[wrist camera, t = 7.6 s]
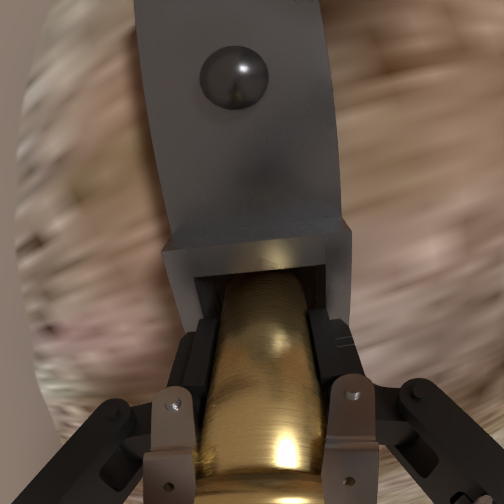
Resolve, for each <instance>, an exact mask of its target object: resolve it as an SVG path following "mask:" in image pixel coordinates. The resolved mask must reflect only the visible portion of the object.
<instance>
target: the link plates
mask: <svg viewBox="0 0 504 504" xmlns="http://www.w3.org/2000/svg"><path fill="white" fill-rule="evenodd" d="M134 12H135V23H136V33H137V42H138V51H139V59H140V67H141V75H142V82H143V89H144V96H145V102H146V109H147V115H148V121H149V127H150V133H151V138H152V144H153V149H154V155H155V160H156V165H157V170H158V175H159V180H160V185H161V190H162V194H163V199H164V204H165V208H166V213H167V217H168V221H169V226H170V230H171V234H172V236H171V237H170V239H169V240H168V242H167V243H166V245H165V246H164V248H163V249H162V251H161V254H162V258H163V261H164V265H165V268H166V272H167V276H168V279H169V283H170V286H171V290H172V293H173V296H174V300H175V303H176V306H177V309H178V313H179V316H180V319H181V322H182V325H183V329H184V332H185V335H186V333H187V332H193V331H196V329H197V325H198V321H199V319H202V318H217V317H218V318H219V320H220V318H221V310H220V306H219V302H218V297H217V293H216V288H215V283H214V279H213V276H214V275H224V274H235V273H245V272H255V271H265V270H275V269H284V268H294V267H303V266H313V265H315V289H316V308H325V307H326V309H327V312H328V315H329V319H330V320H332V319H340V318H341V319H342V320H343V321H344V322H345V323H346V324H347V325H348V326H349V315H350V296H351V266H352V231H351V229H350V228H349V227H348V225H347V224H346V222H345V221H344V219H343V218H342V215H341V188H340V169H339V153H338V140H337V128H336V117H335V107H334V98H333V89H332V81H331V73H330V65H329V58H328V51H327V45H326V39H325V32H324V26H323V21H322V15H321V10H320V5H319V0H134Z"/></svg>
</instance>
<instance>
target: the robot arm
mask: <svg viewBox="0 0 504 504" xmlns="http://www.w3.org/2000/svg"><path fill="white" fill-rule="evenodd" d="M307 315H308V320H309V325H310V330H311V335H312V340H313V346H314V351H315V356H316V362H317V367H318V373H319V379H320V384H321V388H322V390H323V394H324V399H325V405H326V411H327V417H328V426H327V434H326V442H325V449H324V456H323V463H322V470H321V475H322V485H323V494H324V504H377V492H378V471H379V444H380V445H386V447H387V448H388V449H389V450H390V451H391V453H392V454H393V455H394V456H395V458H396V459H397V460H398V461H399V462H400V464H401V465H402V466H403V467H404V468H405V470H406V471H407V472H408V473H409V474H410V475H411V477H412V478H413V479H414V480H415V481H416V483H417V484H418V485H419V486H420V487H421V489H422V490H423V491H424V492H425V493H426V494H427V496H428V497H429V498H430V499H431V500H432V501H433V503H434V504H504V449H503V448H502V447H501V446H500V445H499V444H498V443H497V442H496V441H495V440H494V439H493V438H492V437H491V436H490V435H489V434H488V433H487V432H485V431H484V430H483V429H482V428H481V427H480V426H479V425H478V424H477V423H476V422H475V421H474V420H473V419H472V418H471V417H470V416H469V415H468V414H466V413H465V412H464V411H463V410H462V409H461V408H460V407H459V406H458V405H457V404H456V403H455V402H454V401H453V400H451V399H450V398H449V397H448V396H447V395H446V394H445V393H444V392H443V391H442V390H441V389H440V388H438V387H437V386H436V385H435V384H434V383H433V382H431V381H429V380H427V379H423V378H415V379H411V380H409V381H407V382H405V383H404V384H403V385H402V387H401V388H387V387H381V386H378V385H375V384H374V383H372V381H371V380H370V379H369V378H367V377H366V376H365V374H364V371H363V368H362V365H361V361H360V358H359V355H358V352H357V349H356V346H355V344H354V340H353V337H352V335H351V332H350V329H349V326H348V325H347V324H346V323H345V322H344V321H343V320H342V319H341V318H340V319H332V320H330V319H329V315H328V312H327V309H326V307H325V308H316V309H308V310H307ZM219 324H220V320H219V318H218V317H217V318H202V319H199V321H198V325H197V329H196V331H193V332H187V333H186V335H185V336H184V337H183V338H182V339H181V340H180V343H179V347H178V352H177V353H176V357H175V360H174V363H173V367H172V370H171V373H170V377H169V380H168V384H167V387H166V388H165V389H162V390H161V391H159V392H158V393H157V394H156V395H155V397H154V398H153V401H152V402H150V403H147V404H143V405H138V406H133V407H130V406H129V404H128V403H127V402H126V401H124V400H122V399H116V398H115V399H109V400H107V401H105V402H103V403H102V404H101V405H100V406H99V407H98V408H97V409H96V410H95V411H94V412H93V413H92V414H91V415H90V417H89V418H88V419H87V420H86V421H85V422H84V423H83V424H82V425H81V427H80V428H79V429H78V430H77V431H76V432H75V433H74V434H73V435H72V436H71V438H70V439H69V440H68V441H67V442H66V443H65V444H64V445H63V446H62V448H61V449H60V450H59V451H58V452H57V453H56V454H55V455H54V456H53V458H52V459H51V460H50V461H49V462H48V463H47V464H46V466H45V467H44V468H43V469H42V470H41V471H40V472H39V473H38V474H37V475H36V477H35V478H34V479H33V480H32V481H31V482H30V483H29V484H28V485H27V487H26V488H25V489H24V490H23V491H22V492H21V493H20V494H19V496H18V497H17V498H16V499H15V500H14V501H13V502H12V503H11V504H123V503H124V501H125V500H126V499H127V497H128V496H129V495H130V493H131V492H132V491H133V489H134V488H135V487H136V485H137V484H138V483H139V481H140V480H141V479H142V477H143V504H194V498H195V490H196V480H197V479H200V457H199V454H200V439H201V432H202V426H203V420H204V413H205V407H206V401H207V395H208V389H209V383H210V377H211V371H212V365H213V359H214V353H215V347H216V341H217V335H218V330H219ZM345 485H349V486H350V487H346V486H345Z"/></svg>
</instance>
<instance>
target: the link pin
mask: <svg viewBox="0 0 504 504" xmlns="http://www.w3.org/2000/svg"><path fill="white" fill-rule="evenodd" d="M327 426H328V417H327V411H326V405H325V399H324V394H323V390H322V388H321V384H320V379H319V373H318V367H317V362H316V356H315V351H314V346H313V340H312V335H311V330H310V325H309V320H308V315H307V305H306V300H305V295H304V291H303V287H302V285H301V283H300V282H299V280H298V279H297V278H296V277H295V275H293V274H292V273H291V272H289V271H288V270H286V269H275V270H265V271H255V272H245V273H237V274H236V275H235V276H234V277H233V278H232V279H231V280H230V282H229V283H228V285H227V287H226V290H225V295H224V301H223V307H222V312H221V318H220V324H219V330H218V335H217V341H216V347H215V353H214V359H213V365H212V371H211V377H210V383H209V389H208V395H207V401H206V407H205V413H204V420H203V426H202V432H201V439H200V454H199V457H200V479H197V480H196V490H195V498H194V504H324V494H323V485H322V475H321V470H322V463H323V456H324V449H325V442H326V434H327ZM345 486H346V487H350V486H349V485H345Z"/></svg>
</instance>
